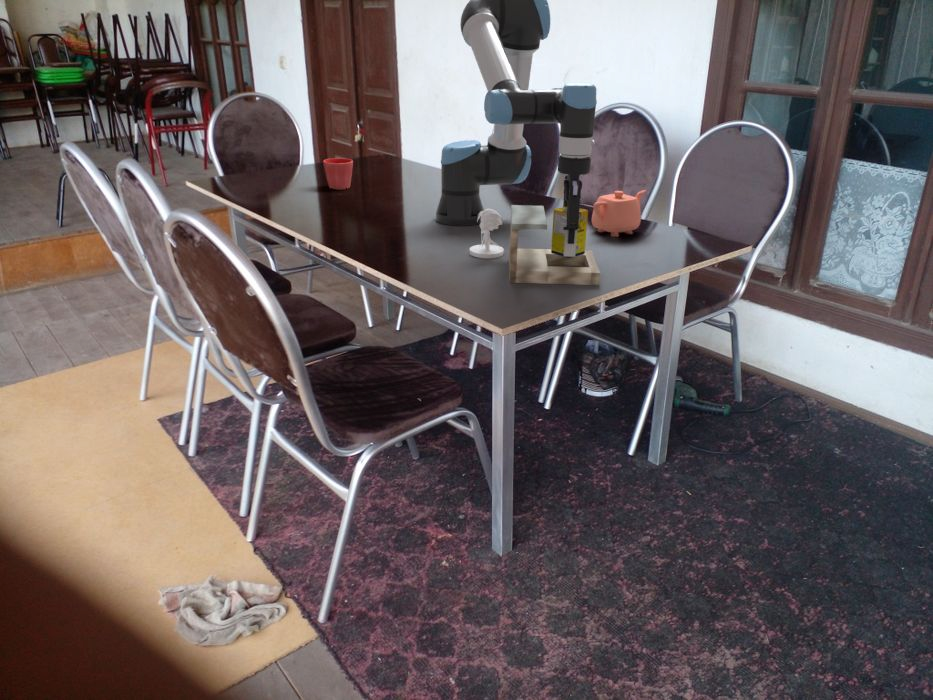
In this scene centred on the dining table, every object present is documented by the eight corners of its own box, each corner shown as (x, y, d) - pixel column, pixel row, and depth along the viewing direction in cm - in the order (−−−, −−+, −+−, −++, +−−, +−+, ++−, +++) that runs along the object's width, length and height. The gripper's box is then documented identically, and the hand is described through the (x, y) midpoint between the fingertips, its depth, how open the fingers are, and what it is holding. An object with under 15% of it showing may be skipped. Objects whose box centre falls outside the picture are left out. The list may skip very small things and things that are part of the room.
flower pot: (360, 186, 261) (359, 159, 256) (340, 191, 252) (338, 164, 248) (339, 183, 266) (337, 156, 262) (318, 188, 257) (316, 161, 253)
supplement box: (585, 254, 171) (589, 209, 167) (568, 258, 168) (572, 213, 163) (566, 248, 175) (569, 205, 171) (550, 253, 172) (553, 208, 167)
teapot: (606, 241, 199) (610, 199, 193) (577, 231, 207) (581, 191, 202) (655, 231, 209) (660, 191, 204) (626, 222, 218) (630, 183, 212)
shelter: (509, 282, 166) (511, 223, 160) (509, 259, 182) (511, 205, 176) (598, 285, 165) (604, 225, 159) (590, 261, 181) (595, 207, 175)
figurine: (468, 248, 191) (468, 204, 186) (501, 248, 191) (502, 204, 186) (471, 258, 182) (471, 213, 177) (505, 258, 183) (507, 212, 178)
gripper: (596, 163, 152) (587, 264, 161) (586, 148, 171) (579, 239, 180) (561, 162, 152) (555, 263, 162) (555, 147, 171) (549, 238, 181)
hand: (567, 250), depth 171 cm, fingers closed on supplement box, 8 cm apart
